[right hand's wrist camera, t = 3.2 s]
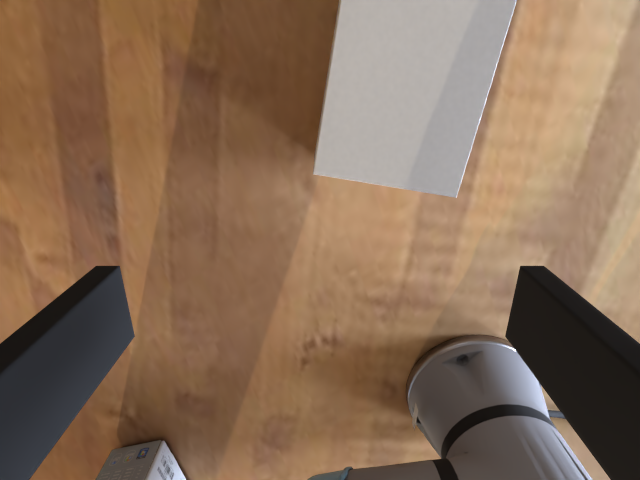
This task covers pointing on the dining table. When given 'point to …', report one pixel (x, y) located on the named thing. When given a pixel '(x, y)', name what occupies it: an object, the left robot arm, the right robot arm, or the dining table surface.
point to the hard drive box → (141, 463)
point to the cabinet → (408, 90)
